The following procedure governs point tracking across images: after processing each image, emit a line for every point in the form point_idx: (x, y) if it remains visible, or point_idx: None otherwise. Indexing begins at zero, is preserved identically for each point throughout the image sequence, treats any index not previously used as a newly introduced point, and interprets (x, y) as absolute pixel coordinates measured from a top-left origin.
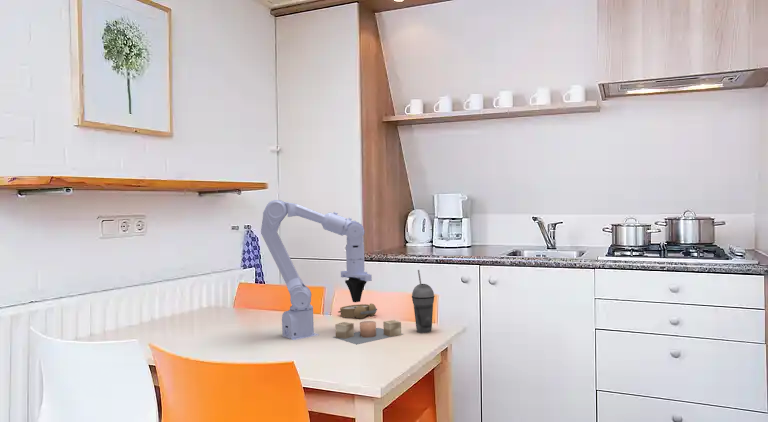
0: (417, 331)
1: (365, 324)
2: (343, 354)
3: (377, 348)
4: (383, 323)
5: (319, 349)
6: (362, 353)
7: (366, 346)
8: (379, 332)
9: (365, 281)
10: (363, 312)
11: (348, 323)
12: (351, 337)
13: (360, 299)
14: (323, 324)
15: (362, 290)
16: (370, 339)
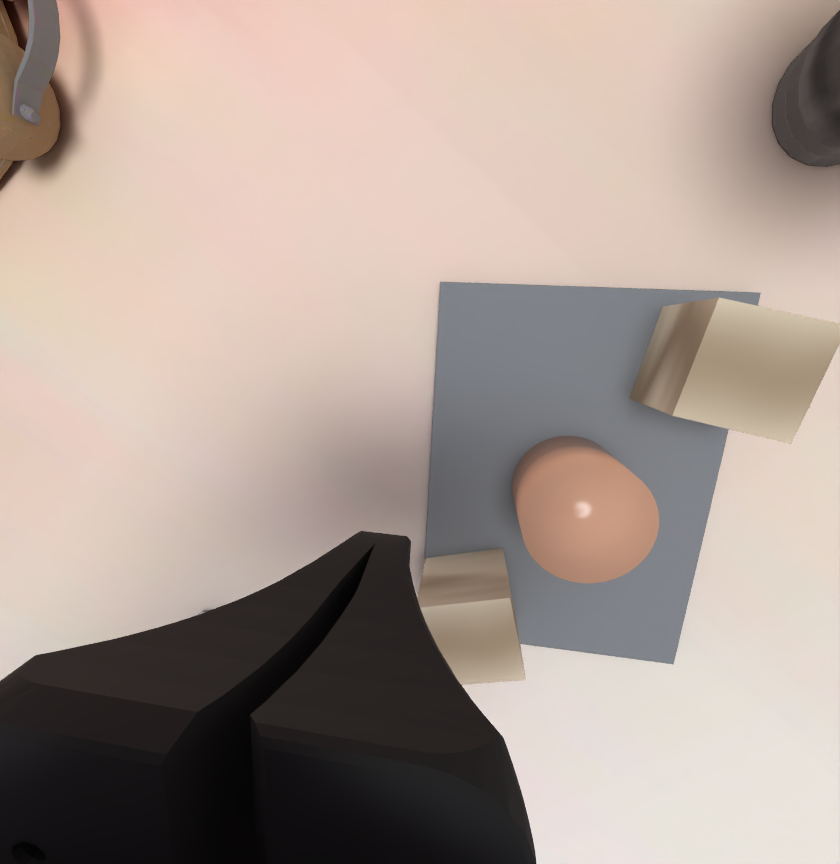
0: (821, 157)
1: (620, 575)
2: (724, 781)
3: (808, 620)
4: (667, 413)
5: (545, 777)
6: (803, 727)
7: (714, 624)
8: (561, 380)
9: (524, 832)
10: (26, 89)
11: (483, 621)
12: (516, 577)
13: (408, 547)
14: (73, 427)
15: (421, 618)
16: (657, 545)
